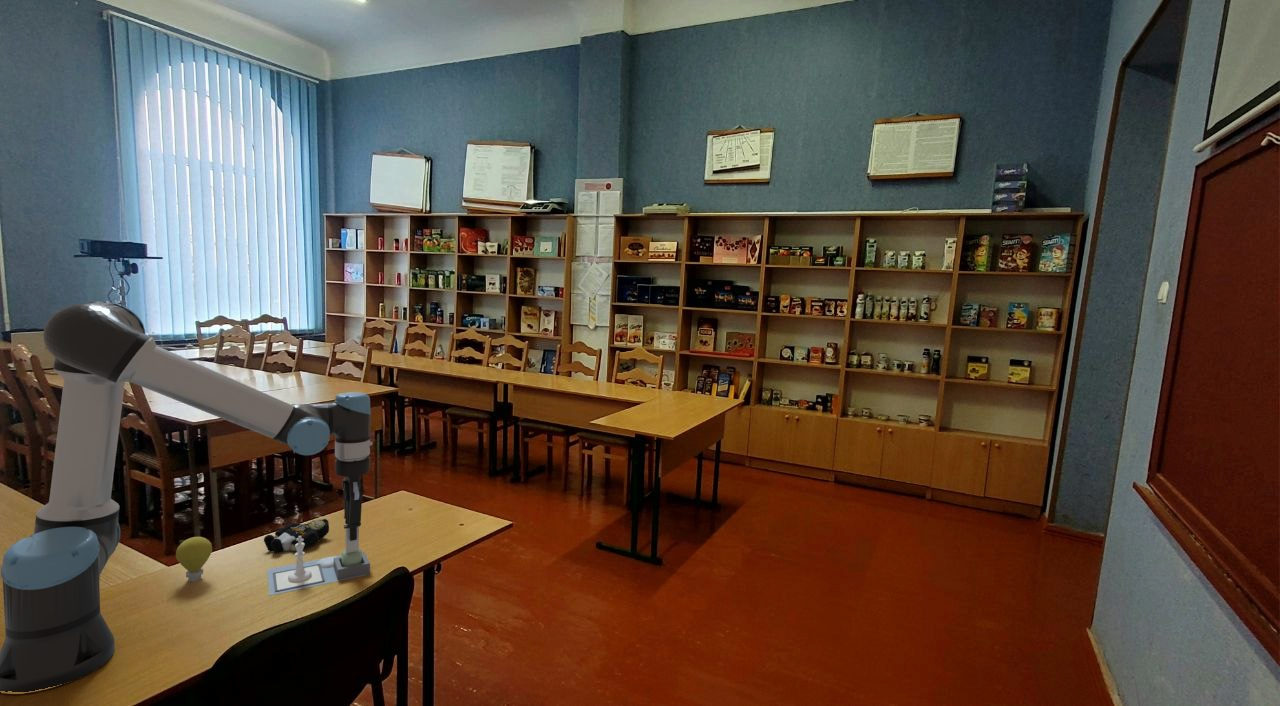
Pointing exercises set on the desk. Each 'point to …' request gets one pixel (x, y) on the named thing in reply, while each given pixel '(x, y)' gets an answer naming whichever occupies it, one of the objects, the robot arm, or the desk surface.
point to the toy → (297, 535)
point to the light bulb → (194, 556)
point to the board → (315, 574)
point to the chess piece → (299, 564)
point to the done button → (351, 558)
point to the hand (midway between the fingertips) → (352, 551)
